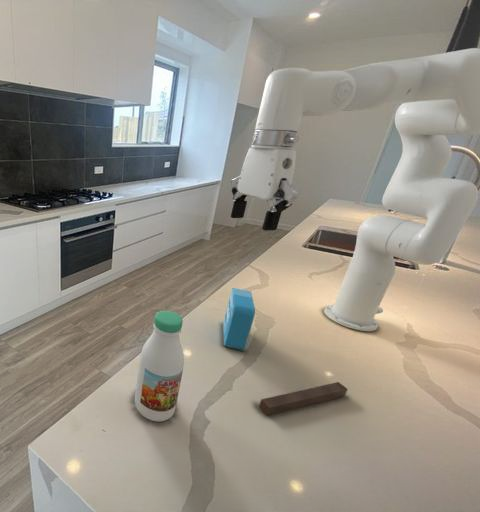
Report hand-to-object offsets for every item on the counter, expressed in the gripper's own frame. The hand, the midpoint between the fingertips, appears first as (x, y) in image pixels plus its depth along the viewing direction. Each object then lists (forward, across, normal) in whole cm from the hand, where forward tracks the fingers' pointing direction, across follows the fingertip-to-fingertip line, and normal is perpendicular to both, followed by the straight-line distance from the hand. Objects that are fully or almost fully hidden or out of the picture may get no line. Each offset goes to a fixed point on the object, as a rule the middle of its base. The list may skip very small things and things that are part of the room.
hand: (251, 223), depth 66 cm
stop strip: (+31, -21, -3) cm, 38 cm away
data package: (+31, 0, -3) cm, 32 cm away
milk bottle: (+31, -15, +27) cm, 44 cm away
